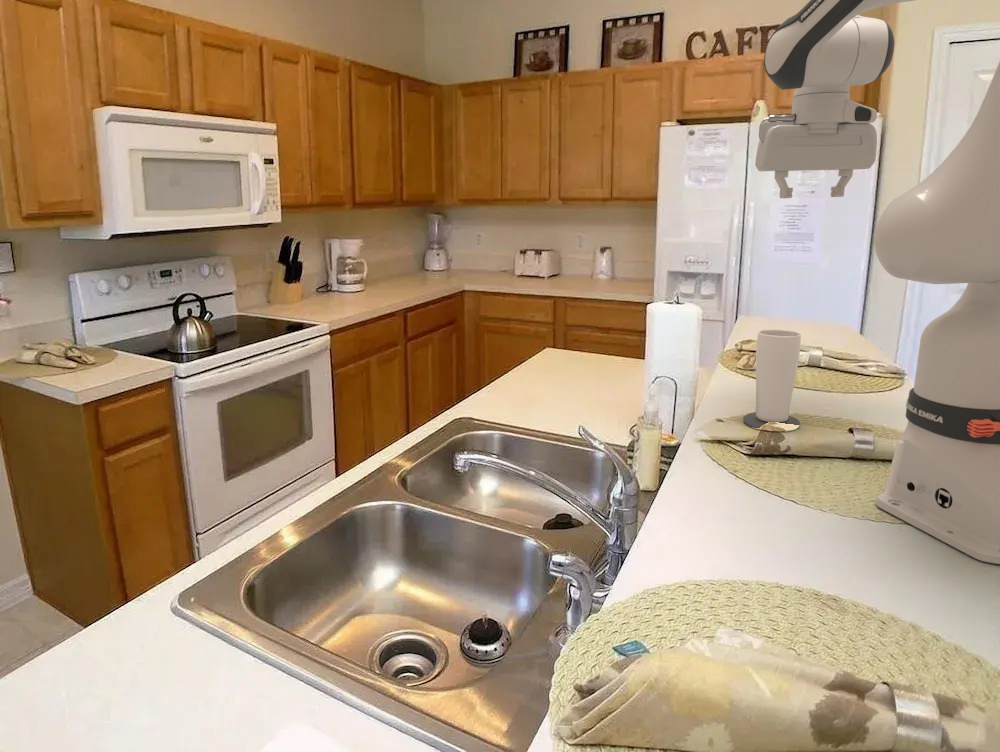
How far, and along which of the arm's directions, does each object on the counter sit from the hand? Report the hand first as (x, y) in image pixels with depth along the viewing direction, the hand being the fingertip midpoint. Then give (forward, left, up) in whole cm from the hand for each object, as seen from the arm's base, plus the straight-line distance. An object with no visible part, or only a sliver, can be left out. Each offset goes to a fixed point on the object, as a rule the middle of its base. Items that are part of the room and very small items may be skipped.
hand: (811, 197), depth 121 cm
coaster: (-13, +10, -37) cm, 41 cm away
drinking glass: (-12, +10, -37) cm, 40 cm away
